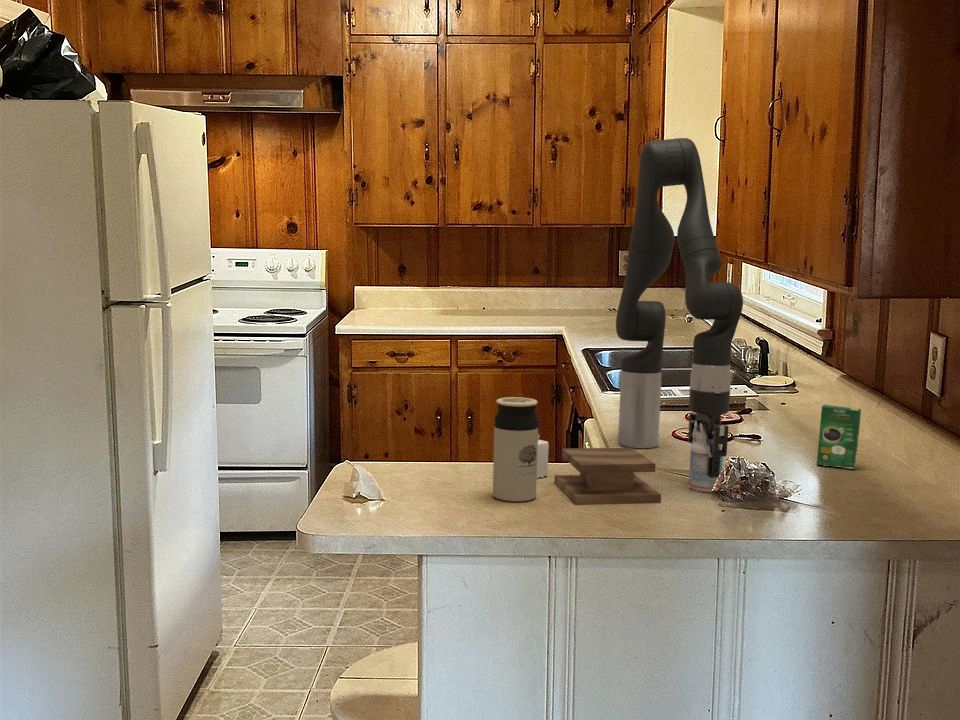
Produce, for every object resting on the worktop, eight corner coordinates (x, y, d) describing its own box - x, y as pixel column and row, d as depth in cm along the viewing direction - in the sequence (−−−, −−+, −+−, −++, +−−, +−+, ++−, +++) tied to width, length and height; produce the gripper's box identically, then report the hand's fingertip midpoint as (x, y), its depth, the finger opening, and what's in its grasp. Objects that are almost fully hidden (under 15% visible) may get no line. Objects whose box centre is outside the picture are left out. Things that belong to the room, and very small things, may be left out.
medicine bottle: (522, 470, 212) (523, 412, 211) (548, 476, 207) (550, 417, 206) (497, 475, 207) (499, 416, 206) (523, 482, 202) (525, 421, 201)
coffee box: (857, 468, 221) (862, 407, 219) (855, 470, 218) (860, 409, 217) (818, 463, 225) (822, 403, 223) (816, 466, 222) (820, 405, 220)
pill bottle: (697, 483, 204) (700, 427, 203) (726, 489, 200) (729, 431, 199) (682, 489, 199) (685, 431, 198) (711, 494, 196) (715, 436, 194)
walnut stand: (554, 482, 202) (555, 447, 201) (633, 481, 205) (635, 446, 204) (575, 504, 186) (576, 466, 186) (660, 502, 189) (662, 464, 188)
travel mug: (485, 493, 193) (488, 397, 190) (524, 490, 196) (527, 396, 194) (503, 504, 185) (506, 405, 183) (543, 500, 189) (546, 402, 186)
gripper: (677, 381, 204) (673, 464, 206) (705, 393, 190) (700, 481, 192) (714, 381, 205) (709, 463, 207) (744, 393, 191) (739, 481, 193)
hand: (705, 472), depth 199 cm, fingers open, 7 cm apart
